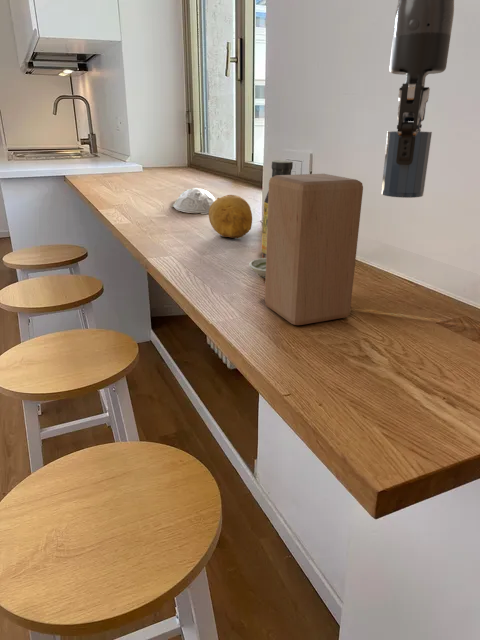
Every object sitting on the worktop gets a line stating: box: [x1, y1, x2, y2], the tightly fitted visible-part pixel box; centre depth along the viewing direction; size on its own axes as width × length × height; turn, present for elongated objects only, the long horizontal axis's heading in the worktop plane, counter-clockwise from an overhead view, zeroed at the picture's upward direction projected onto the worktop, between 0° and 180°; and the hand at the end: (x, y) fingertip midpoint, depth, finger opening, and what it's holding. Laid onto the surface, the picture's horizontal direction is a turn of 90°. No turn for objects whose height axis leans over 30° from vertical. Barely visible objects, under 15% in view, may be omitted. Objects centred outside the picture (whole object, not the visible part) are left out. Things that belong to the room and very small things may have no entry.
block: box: [264, 173, 364, 326], centre depth 72 cm, size 10×10×20 cm
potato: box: [208, 194, 253, 240], centre depth 122 cm, size 10×12×10 cm
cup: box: [381, 130, 433, 199], centre depth 74 cm, size 6×6×9 cm
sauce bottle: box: [261, 159, 294, 258], centre depth 100 cm, size 7×6×20 cm
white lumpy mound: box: [172, 187, 217, 215], centre depth 161 cm, size 16×25×7 cm, turn 7°
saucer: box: [248, 257, 266, 279], centre depth 93 cm, size 10×10×2 cm
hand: (405, 162), depth 74 cm, fingers closed on cup, 6 cm apart
